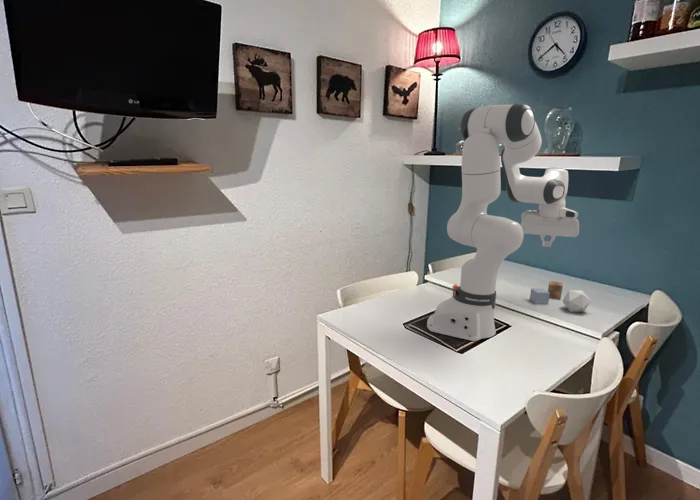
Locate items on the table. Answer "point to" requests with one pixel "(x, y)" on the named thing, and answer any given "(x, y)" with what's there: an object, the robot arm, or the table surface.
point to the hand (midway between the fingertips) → (546, 246)
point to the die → (576, 301)
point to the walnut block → (555, 289)
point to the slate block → (539, 296)
